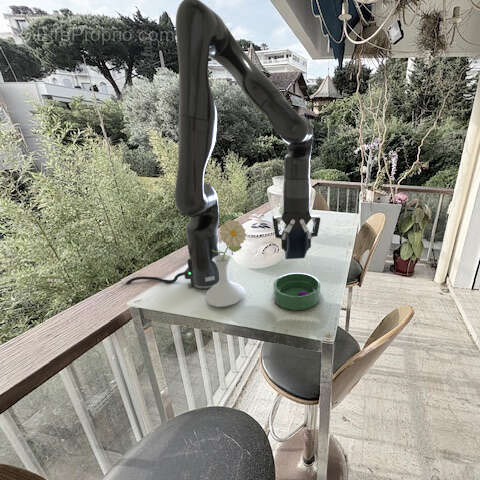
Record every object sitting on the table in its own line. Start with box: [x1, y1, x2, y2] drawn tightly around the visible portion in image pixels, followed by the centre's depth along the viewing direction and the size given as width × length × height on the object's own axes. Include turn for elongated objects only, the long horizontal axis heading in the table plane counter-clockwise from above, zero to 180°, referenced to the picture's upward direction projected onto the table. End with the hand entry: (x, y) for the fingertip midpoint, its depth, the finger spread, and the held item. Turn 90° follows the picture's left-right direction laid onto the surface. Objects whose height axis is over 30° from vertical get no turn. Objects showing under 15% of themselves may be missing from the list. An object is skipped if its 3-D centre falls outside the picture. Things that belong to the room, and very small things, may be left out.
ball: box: [298, 291, 308, 296], centre depth 80 cm, size 3×3×3 cm
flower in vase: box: [204, 219, 247, 308], centre depth 77 cm, size 13×11×25 cm
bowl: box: [273, 272, 321, 311], centre depth 82 cm, size 14×14×5 cm
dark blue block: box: [284, 229, 310, 260], centre depth 80 cm, size 6×6×10 cm
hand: (296, 249), depth 80 cm, fingers closed on dark blue block, 6 cm apart
